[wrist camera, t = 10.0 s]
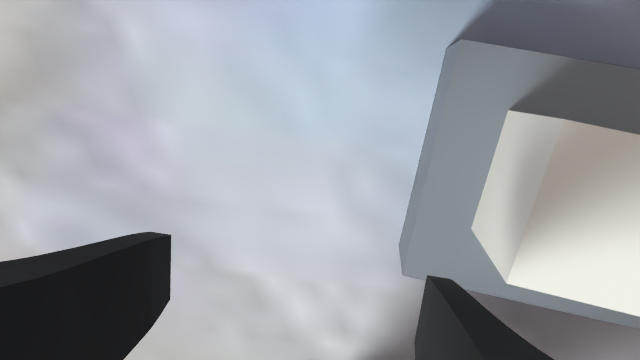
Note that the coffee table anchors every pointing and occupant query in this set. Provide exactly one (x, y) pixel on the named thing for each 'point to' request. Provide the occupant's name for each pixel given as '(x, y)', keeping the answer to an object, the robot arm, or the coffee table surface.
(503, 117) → the gray block
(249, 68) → the coffee table surface
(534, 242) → the cream cube
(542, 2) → the coffee table surface
